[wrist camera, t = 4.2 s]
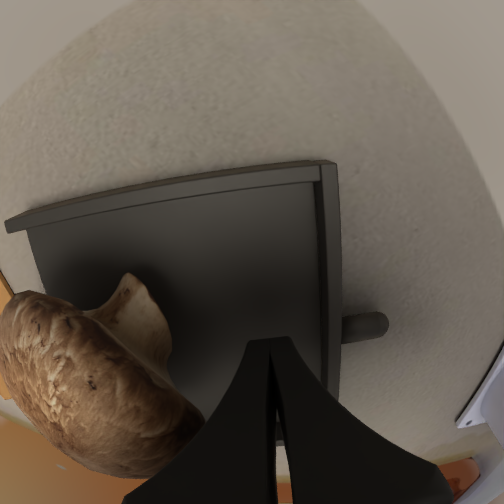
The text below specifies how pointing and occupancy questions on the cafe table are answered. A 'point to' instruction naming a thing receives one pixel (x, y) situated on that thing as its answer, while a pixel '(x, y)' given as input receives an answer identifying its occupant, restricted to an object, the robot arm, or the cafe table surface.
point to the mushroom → (98, 379)
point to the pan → (213, 266)
